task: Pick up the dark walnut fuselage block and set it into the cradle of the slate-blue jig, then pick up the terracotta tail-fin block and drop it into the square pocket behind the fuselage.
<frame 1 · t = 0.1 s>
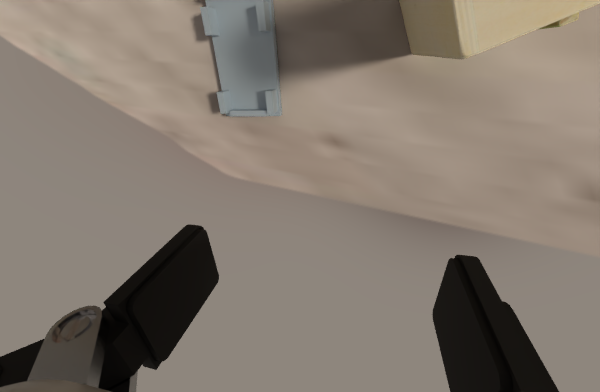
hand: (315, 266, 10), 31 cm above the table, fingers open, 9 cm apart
toy refrigerator: (439, 13, 29), on the table
jig: (244, 30, 34), on the table
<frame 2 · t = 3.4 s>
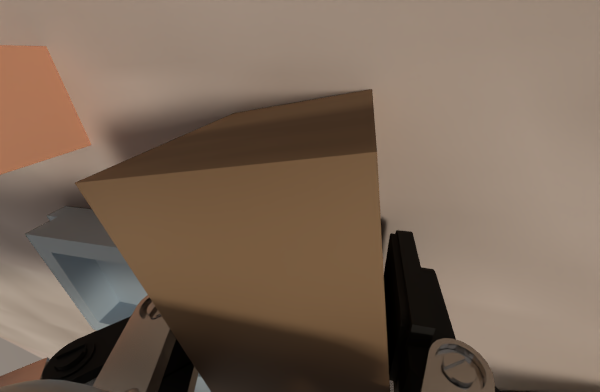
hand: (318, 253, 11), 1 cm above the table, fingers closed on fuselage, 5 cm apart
tail fin: (37, 100, 11), on the table
jig: (185, 338, 19), on the table
fuselage: (321, 236, 11), on the table, touching gripper
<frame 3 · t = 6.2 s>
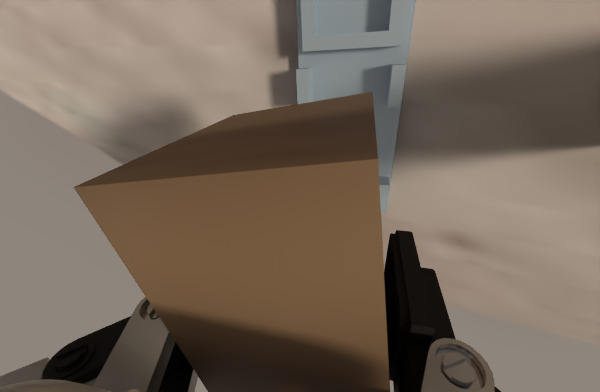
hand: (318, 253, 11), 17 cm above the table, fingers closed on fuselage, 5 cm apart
jig: (349, 95, 23), on the table
fuselage: (321, 238, 11), point 16 cm above the table, touching gripper
when the fingers open (4 cm above the table, at t = 9.1 s): fuselage drops 2 cm, resting on jig.
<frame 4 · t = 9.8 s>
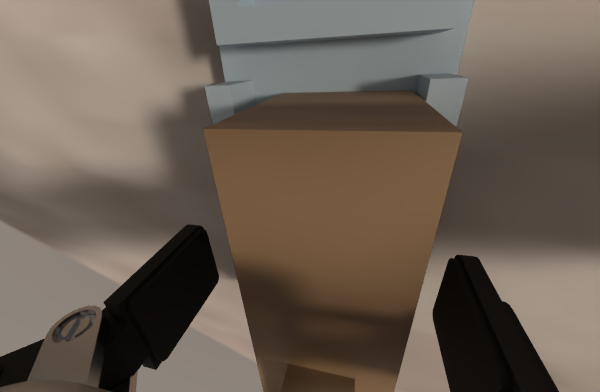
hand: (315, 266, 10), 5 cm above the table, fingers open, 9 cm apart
jig: (331, 134, 12), on the table
fuselage: (339, 214, 13), point 1 cm above the table, touching jig
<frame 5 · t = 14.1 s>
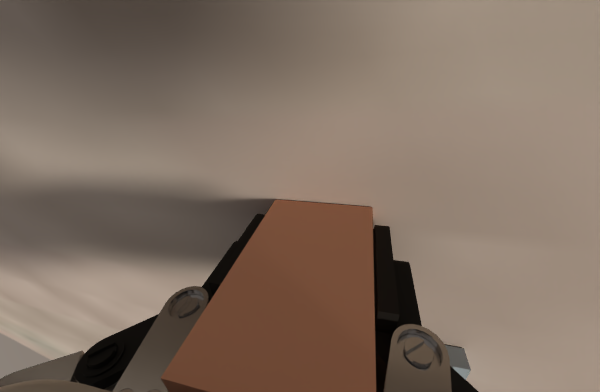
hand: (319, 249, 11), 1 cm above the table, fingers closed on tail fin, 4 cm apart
tail fin: (322, 241, 11), on the table, touching gripper
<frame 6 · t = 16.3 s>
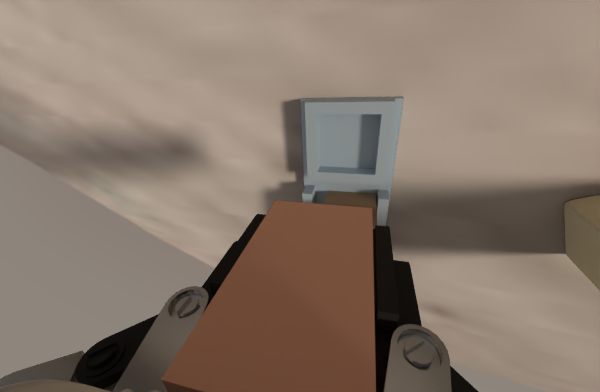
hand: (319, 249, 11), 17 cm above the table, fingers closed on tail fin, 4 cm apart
tail fin: (322, 242, 11), point 16 cm above the table, touching gripper
jig: (345, 203, 28), on the table
fuselage: (348, 235, 29), point 1 cm above the table, touching jig
when the fingers open (3 cm above the table, at t = 19.0 s): tail fin drops 2 cm, resting on jig.
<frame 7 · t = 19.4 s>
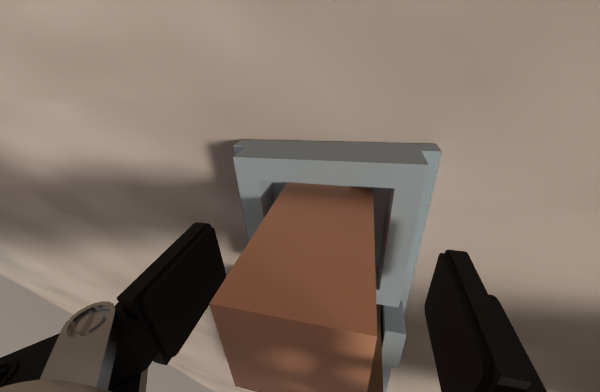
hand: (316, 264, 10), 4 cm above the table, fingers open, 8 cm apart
tail fin: (327, 220, 13), point 1 cm above the table, touching jig
jig: (328, 303, 17), on the table
fuselage: (334, 351, 18), point 1 cm above the table, touching jig
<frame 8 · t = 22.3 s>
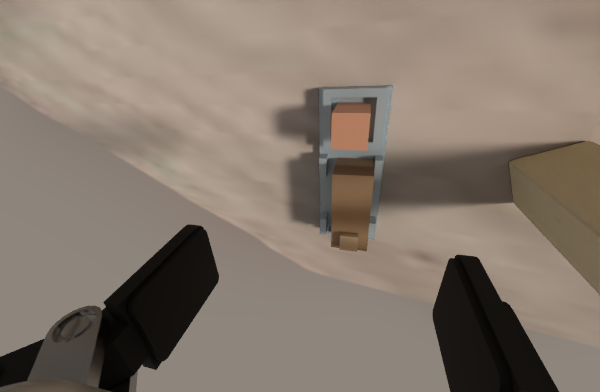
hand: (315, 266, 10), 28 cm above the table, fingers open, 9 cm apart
toy refrigerator: (545, 176, 32), on the table
tail fin: (353, 118, 33), point 1 cm above the table, touching jig
jig: (350, 168, 37), on the table
fuselage: (353, 193, 38), point 1 cm above the table, touching jig
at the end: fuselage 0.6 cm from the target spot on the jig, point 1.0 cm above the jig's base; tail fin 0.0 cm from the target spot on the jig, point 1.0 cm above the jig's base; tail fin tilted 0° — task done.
